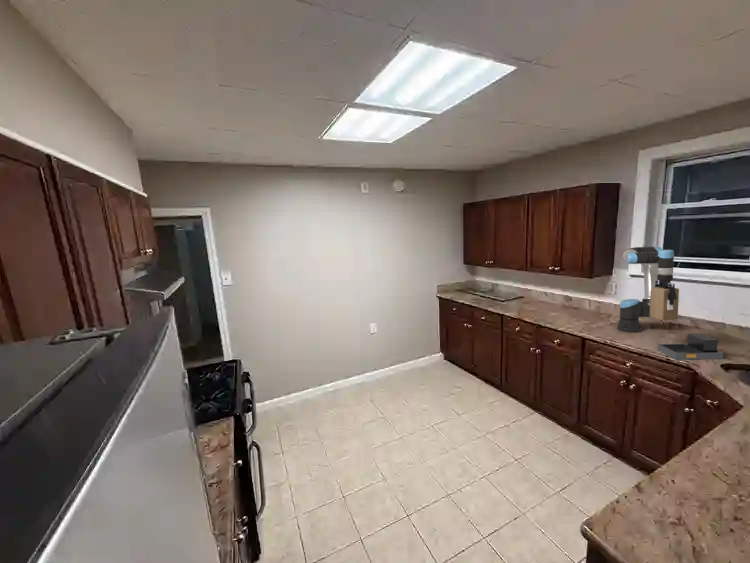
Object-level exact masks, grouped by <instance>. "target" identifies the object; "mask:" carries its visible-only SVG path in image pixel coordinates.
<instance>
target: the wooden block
mask: <svg viewBox="0 0 750 563" xmlns="http://www.w3.org/2000/svg"><path fill="white" fill-rule="evenodd" d="M675 292H676V297H677V299H674V303H673V310H667V304H668V299H669V298H668V293H670V291H669V289H664V288H661V287H660V288H659V287H652V288H651V292H650V317H649V318H653V319H656V320H661V321H671V320H672V321H673V320H678V319H679V298H680V288H677V287H675Z"/></svg>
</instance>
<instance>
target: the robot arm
mask: <svg viewBox="0 0 750 563" xmlns="http://www.w3.org/2000/svg"><path fill="white" fill-rule="evenodd" d="M621 256H622V259H623V260H624V261H626V262H627V264H628V265H639V264H640V265H641V266H642V267H643V283H644V284H643V290H644V291H643V292H644V297H643V298H642V299H641V300H642V301H640V299H638V298H636V299H635V298H628V299H627V298H626V299H623V300H621V301H620V303H619V319H618V322H617V323H616V329H617V330H618V331H621V332H627V333H639V332H641V331H642V326H641V323H640V320H639V318H651V317H650V292H651V288H652V287H659V288H660V287H661V288H664V289H669V291H670V293H668V298H669V299H668V304H667V310H673V303H674V299H677V297H676V292H675V288H676V286H675V283H671V282H672V281H673V279H674V275H673V274H674V260H675V250H673V249H663V248H662V247H661V246H652V245H651V246H635V247H630V248H628V249H625V250H624V251H623V252H622V254H621Z"/></svg>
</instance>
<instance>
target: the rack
mask: <svg viewBox="0 0 750 563" xmlns="http://www.w3.org/2000/svg"><path fill="white" fill-rule="evenodd" d="M687 335H688V336H687V343H657V351H658V350H659V352H660V351H661V352H660V353H662V354H664V355H666V356H668V357H670V358H672V359H674V360H676V361H680V360H682V361H685V360H689V361H691V360H692V361H693V360H723V359H724V351H720V350H718V345H719V343H718V342H719V340H718V339H717V338H715V337H714V338H713V337H712V336H708V335H706V334H704V333H688V334H687Z"/></svg>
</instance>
